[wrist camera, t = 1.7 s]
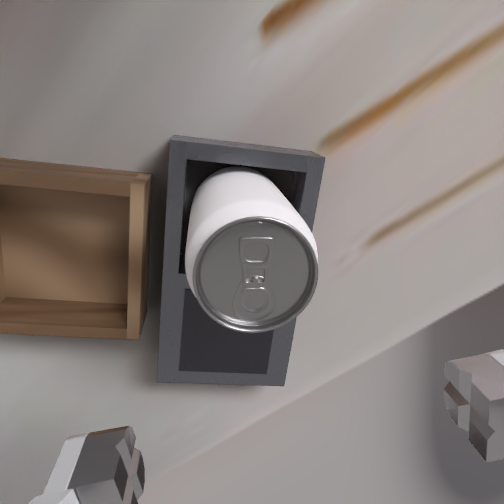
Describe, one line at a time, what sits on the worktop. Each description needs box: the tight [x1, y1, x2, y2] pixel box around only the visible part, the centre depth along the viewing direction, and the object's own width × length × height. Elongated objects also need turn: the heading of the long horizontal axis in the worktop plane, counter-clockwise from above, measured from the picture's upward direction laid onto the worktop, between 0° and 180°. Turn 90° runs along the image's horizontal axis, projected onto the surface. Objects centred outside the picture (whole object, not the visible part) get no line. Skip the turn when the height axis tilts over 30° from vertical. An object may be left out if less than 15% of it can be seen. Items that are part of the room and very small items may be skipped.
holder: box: [0, 158, 152, 340], centre depth 27 cm, size 11×11×4 cm
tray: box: [157, 135, 325, 386], centre depth 29 cm, size 17×9×4 cm, turn 173°
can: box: [185, 166, 318, 333], centre depth 24 cm, size 6×6×12 cm
